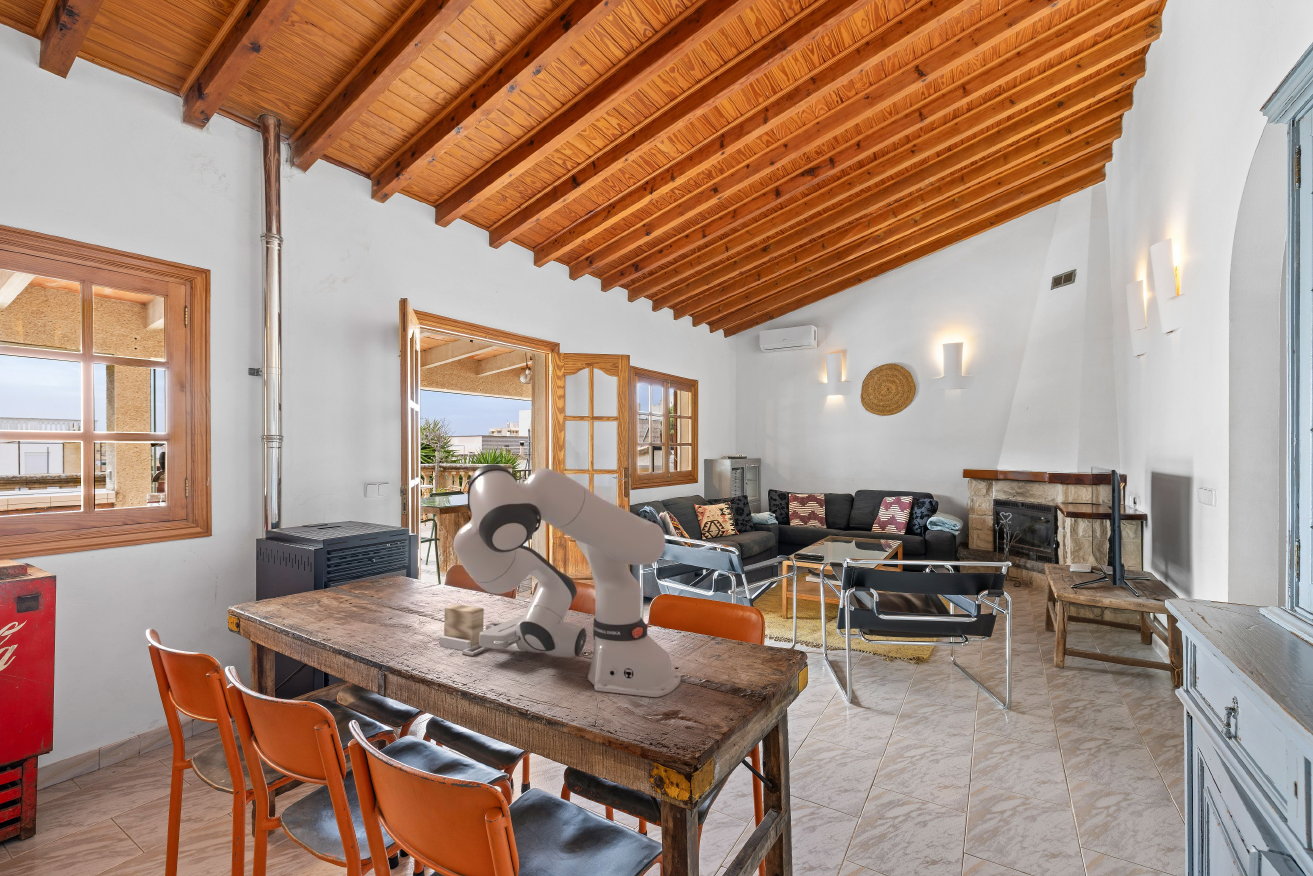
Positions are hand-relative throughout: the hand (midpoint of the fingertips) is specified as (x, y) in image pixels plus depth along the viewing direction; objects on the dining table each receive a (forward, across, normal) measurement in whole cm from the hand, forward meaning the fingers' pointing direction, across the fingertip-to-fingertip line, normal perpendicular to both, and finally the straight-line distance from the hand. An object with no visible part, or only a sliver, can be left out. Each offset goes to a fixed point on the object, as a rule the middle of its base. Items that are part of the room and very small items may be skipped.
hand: (489, 626), depth 163 cm
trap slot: (+1, 0, -6) cm, 6 cm away
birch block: (+9, 0, -6) cm, 11 cm away
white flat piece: (+8, 0, -6) cm, 10 cm away
